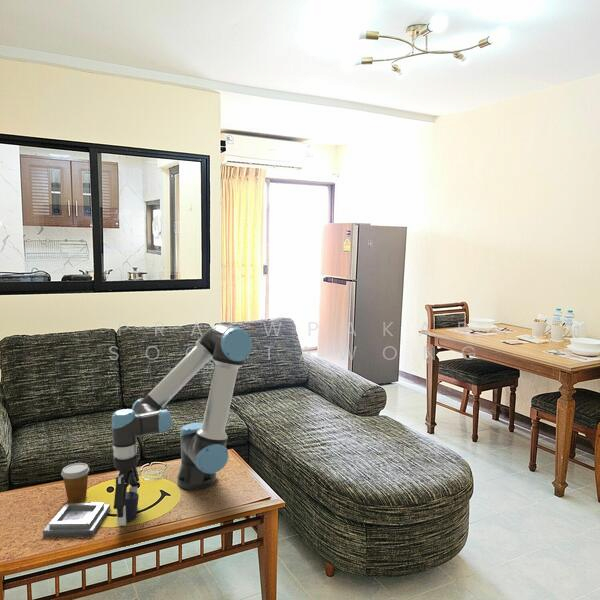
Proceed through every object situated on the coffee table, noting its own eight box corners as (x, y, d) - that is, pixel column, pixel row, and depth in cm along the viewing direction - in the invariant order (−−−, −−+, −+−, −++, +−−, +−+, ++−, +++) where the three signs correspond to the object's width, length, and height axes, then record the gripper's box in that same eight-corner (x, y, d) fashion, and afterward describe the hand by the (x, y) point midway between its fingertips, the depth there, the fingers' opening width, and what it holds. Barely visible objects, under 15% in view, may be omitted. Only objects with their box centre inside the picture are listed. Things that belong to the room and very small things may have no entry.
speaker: (110, 521, 174) (113, 492, 173) (118, 513, 180) (121, 484, 179) (132, 525, 173) (134, 495, 172) (139, 516, 179) (141, 488, 178)
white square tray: (110, 509, 182) (109, 500, 182) (92, 535, 166) (92, 525, 166) (64, 510, 182) (64, 500, 181) (43, 536, 166) (42, 526, 165)
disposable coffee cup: (87, 489, 196) (85, 460, 195) (93, 500, 189) (92, 469, 187) (60, 497, 191) (58, 466, 189) (66, 508, 183) (64, 476, 182)
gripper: (125, 440, 186) (128, 496, 189) (100, 471, 162) (104, 534, 165) (146, 440, 187) (148, 495, 189) (124, 471, 162) (127, 534, 165)
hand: (128, 514), depth 177 cm, fingers open, 12 cm apart
